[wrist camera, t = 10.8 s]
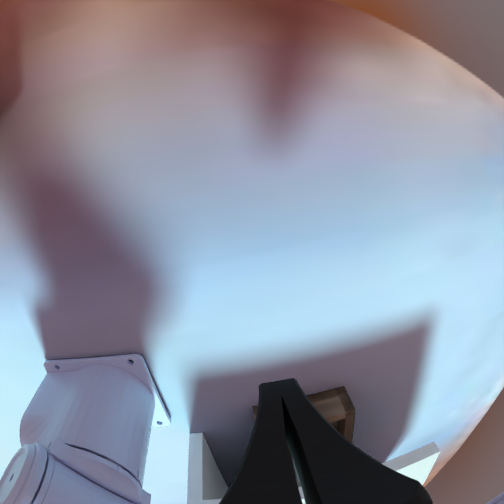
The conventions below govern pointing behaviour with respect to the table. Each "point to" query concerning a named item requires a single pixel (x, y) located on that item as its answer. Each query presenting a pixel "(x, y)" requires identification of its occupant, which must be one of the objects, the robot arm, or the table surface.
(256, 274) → the table surface
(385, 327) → the table surface
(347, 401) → the walnut tray
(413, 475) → the white shelf
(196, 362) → the table surface
